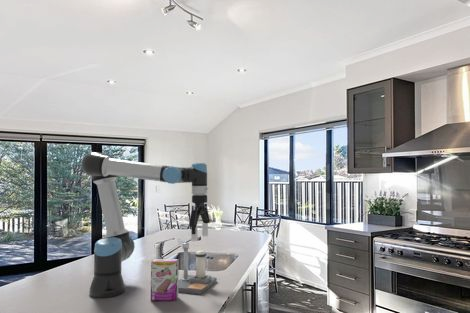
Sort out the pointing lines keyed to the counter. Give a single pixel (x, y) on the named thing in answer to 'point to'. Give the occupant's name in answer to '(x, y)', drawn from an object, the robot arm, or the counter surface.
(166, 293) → the candy bar box
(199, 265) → the clear cream cylinder
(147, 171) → the robot arm
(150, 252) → the counter surface
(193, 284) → the grey stand
